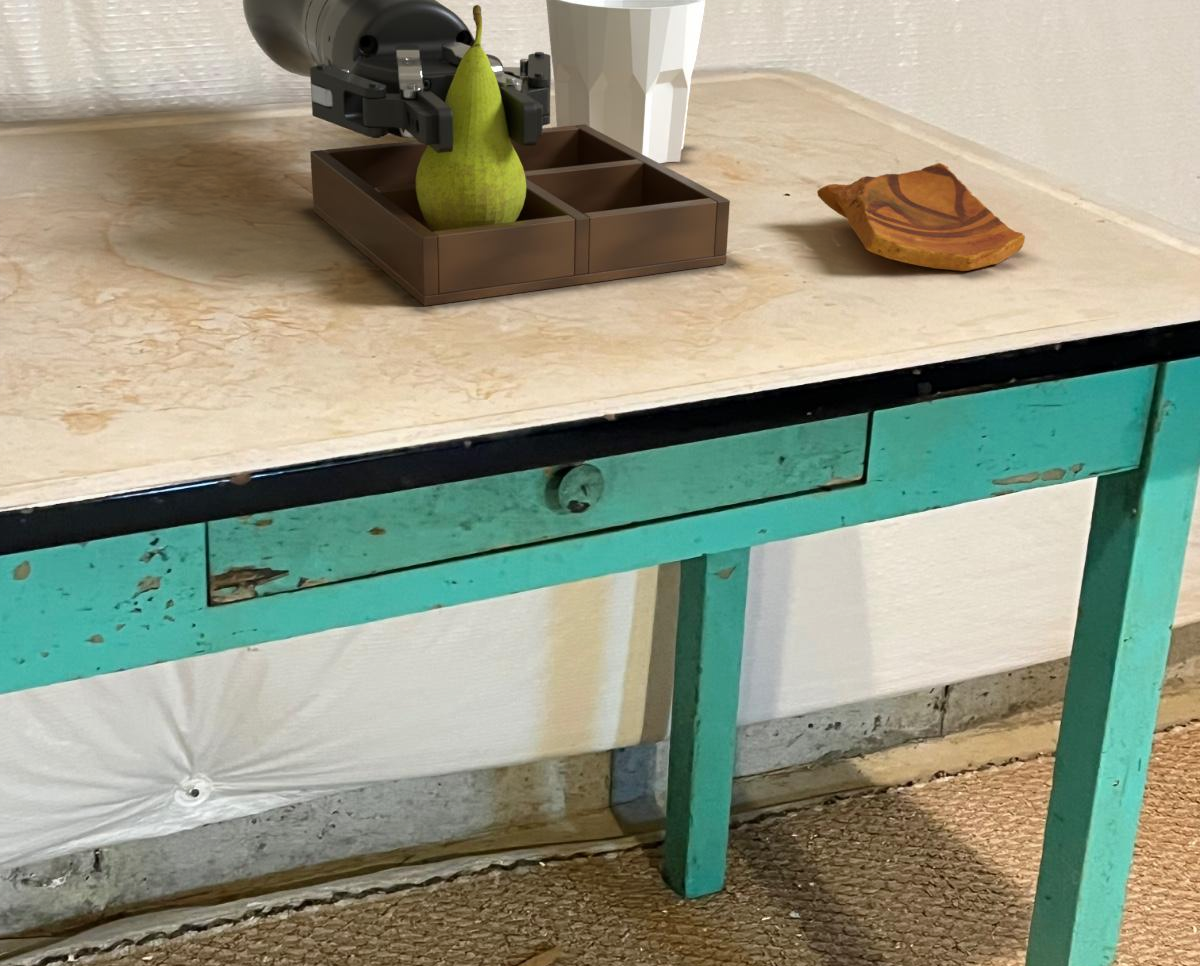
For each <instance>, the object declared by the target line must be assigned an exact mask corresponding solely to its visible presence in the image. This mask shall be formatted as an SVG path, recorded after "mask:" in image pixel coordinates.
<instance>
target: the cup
mask: <svg viewBox="0 0 1200 966" xmlns="http://www.w3.org/2000/svg"><path fill="white" fill-rule="evenodd" d="M545 1H546V13H547V23H548V33H549V44H550V45H549V46H550V57H551V64H552V65H551V66H552V73H553V81H554V102H555V121H556V127H562V126H572V125H573V126H575V125H583V124H585V125H587V126H589V127H591V128H593V129H595V130H597V131H599V132H601V133H602V134H604V135H606V136H608V137H610V138H612V139H614V140H616V141H618V142H620V143H621V144H623V145H625V146H627V147H629V148H631V149H633V150H635V151H637V152H639V153H641V154H642V155H644V156H646V157H648V158H650V159H652V160H654V161H656V162H658V163H660V164H664V163H677V162H678V163H679V162H681V156H682V150H683V149H684V144H685V143H684V142H685V134H686V126H687V118H688V117H687V116H688V108H689V99H690V91H691V81H692V75H693V72H694V67H695V64H696V60H697V56H698V55H697V53H698V48H699V43H700V37H701V31H702V27H703V26H702V25H703V24H702V23H703V18H704V13H705V8H706V2H707V1H706V0H545Z"/></svg>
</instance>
